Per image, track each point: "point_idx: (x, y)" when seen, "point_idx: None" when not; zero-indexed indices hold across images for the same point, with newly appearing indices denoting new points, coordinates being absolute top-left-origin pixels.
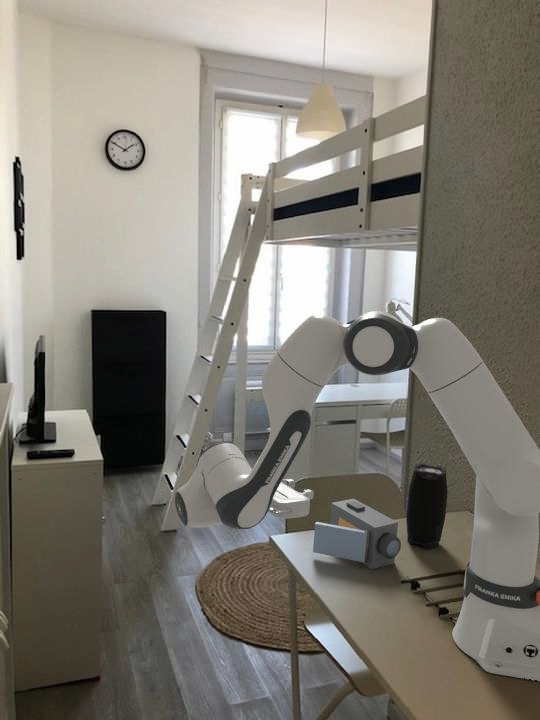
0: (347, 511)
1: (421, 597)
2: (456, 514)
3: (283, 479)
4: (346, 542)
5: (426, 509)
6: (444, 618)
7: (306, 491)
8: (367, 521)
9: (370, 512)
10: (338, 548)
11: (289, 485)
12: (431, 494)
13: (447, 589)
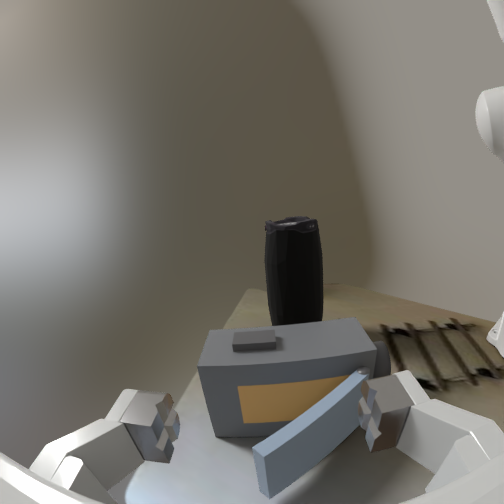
0: (265, 362)
1: (457, 385)
2: (248, 293)
3: (95, 429)
4: (335, 425)
5: (317, 283)
6: (501, 374)
7: (418, 401)
8: (339, 351)
9: (292, 333)
10: (320, 448)
11: (161, 442)
12: (318, 255)
13: (432, 356)
